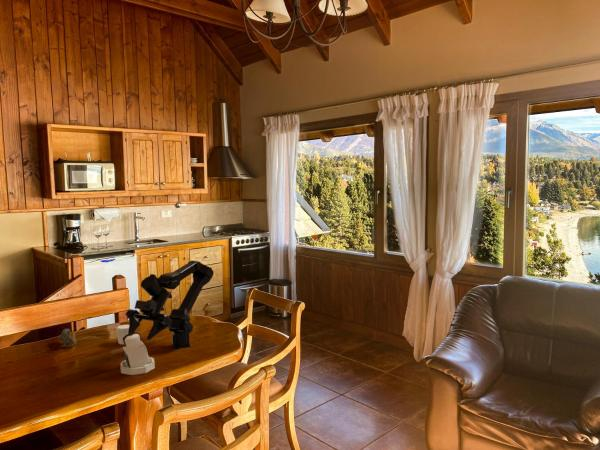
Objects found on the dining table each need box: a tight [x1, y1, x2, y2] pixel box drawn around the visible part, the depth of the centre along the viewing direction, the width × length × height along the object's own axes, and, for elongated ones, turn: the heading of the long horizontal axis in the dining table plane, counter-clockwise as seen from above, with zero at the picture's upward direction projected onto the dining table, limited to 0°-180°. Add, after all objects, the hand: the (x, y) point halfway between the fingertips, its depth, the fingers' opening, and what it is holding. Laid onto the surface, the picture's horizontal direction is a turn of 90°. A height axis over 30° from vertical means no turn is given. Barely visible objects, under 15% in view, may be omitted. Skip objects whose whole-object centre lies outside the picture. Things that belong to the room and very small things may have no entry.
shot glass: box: [115, 323, 129, 345], centre depth 200 cm, size 7×7×7 cm
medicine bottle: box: [122, 331, 150, 368], centre depth 172 cm, size 7×7×12 cm
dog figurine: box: [57, 328, 77, 348], centre depth 198 cm, size 12×6×7 cm, turn 38°
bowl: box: [120, 356, 156, 376], centre depth 173 cm, size 12×12×2 cm
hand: (138, 338), depth 172 cm, fingers open, 9 cm apart
